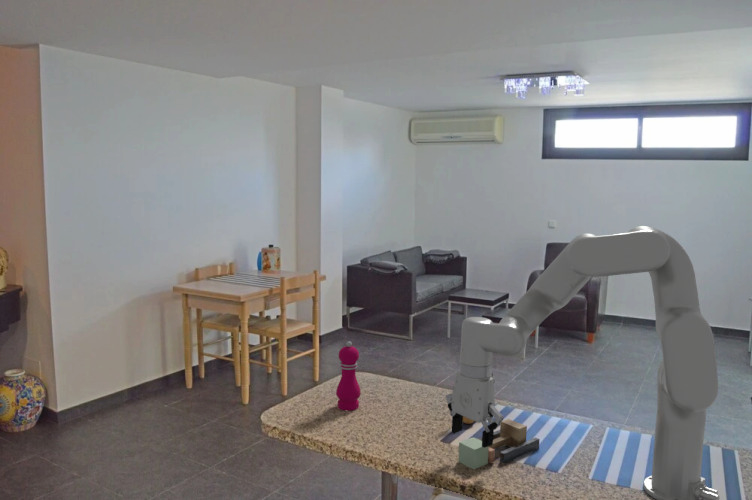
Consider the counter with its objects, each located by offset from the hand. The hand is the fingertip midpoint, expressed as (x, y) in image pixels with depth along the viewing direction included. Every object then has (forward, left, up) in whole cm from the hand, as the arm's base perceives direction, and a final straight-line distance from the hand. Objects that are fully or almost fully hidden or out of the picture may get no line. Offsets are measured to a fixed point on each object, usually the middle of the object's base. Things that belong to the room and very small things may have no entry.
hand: (471, 438), depth 148 cm
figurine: (+18, -17, -6) cm, 25 cm away
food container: (+23, -31, -6) cm, 39 cm away
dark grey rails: (0, -13, -6) cm, 14 cm away
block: (0, 0, -6) cm, 6 cm away
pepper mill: (+47, +2, -6) cm, 47 cm away
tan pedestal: (0, -10, -6) cm, 11 cm away
